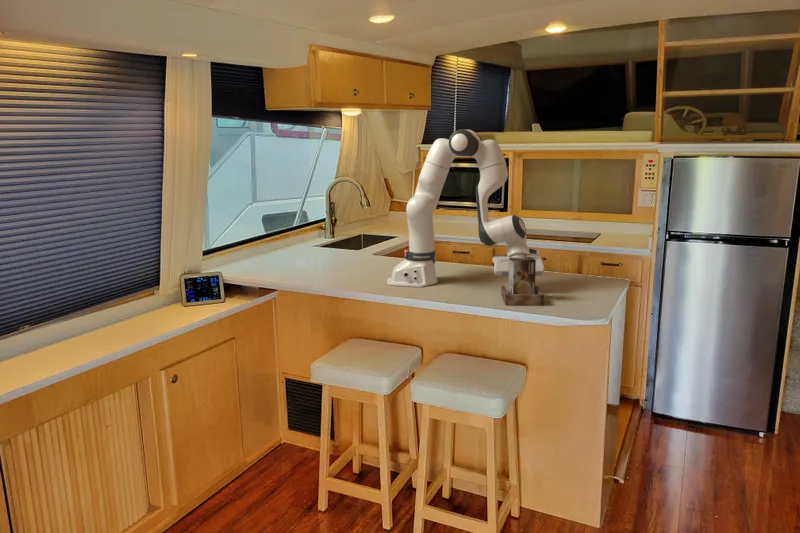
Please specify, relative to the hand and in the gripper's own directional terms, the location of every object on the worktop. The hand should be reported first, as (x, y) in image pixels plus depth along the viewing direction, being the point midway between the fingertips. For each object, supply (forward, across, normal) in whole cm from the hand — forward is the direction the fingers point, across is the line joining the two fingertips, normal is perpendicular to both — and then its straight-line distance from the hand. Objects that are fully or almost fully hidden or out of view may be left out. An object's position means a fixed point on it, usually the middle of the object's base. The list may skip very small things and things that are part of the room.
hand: (520, 283), depth 236 cm
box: (+8, 0, -1) cm, 8 cm away
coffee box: (+6, 0, +1) cm, 7 cm away
